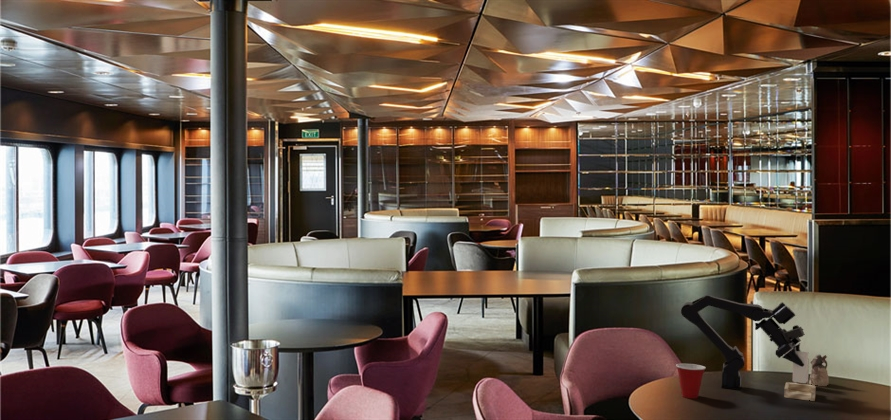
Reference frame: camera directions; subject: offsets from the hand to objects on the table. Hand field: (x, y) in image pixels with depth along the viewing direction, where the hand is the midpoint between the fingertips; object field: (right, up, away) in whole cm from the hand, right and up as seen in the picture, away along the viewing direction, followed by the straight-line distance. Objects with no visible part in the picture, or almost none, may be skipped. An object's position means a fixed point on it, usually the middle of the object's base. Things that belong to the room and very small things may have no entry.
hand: (804, 364), depth 290 cm
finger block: (-1, -7, +1) cm, 7 cm away
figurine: (+14, -12, +18) cm, 26 cm away
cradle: (+2, -12, +7) cm, 14 cm away
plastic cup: (-44, -12, 0) cm, 45 cm away
